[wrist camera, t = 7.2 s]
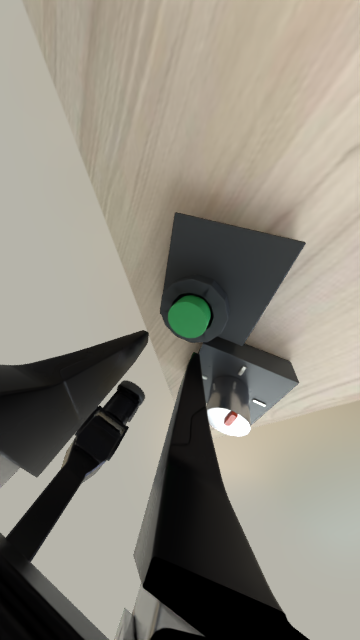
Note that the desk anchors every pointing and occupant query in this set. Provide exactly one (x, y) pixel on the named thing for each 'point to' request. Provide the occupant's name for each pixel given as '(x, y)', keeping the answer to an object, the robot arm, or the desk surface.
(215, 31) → the desk surface
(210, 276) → the button block
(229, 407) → the program dial
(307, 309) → the desk surface
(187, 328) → the button
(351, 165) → the desk surface
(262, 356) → the dial panel
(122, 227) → the desk surface
